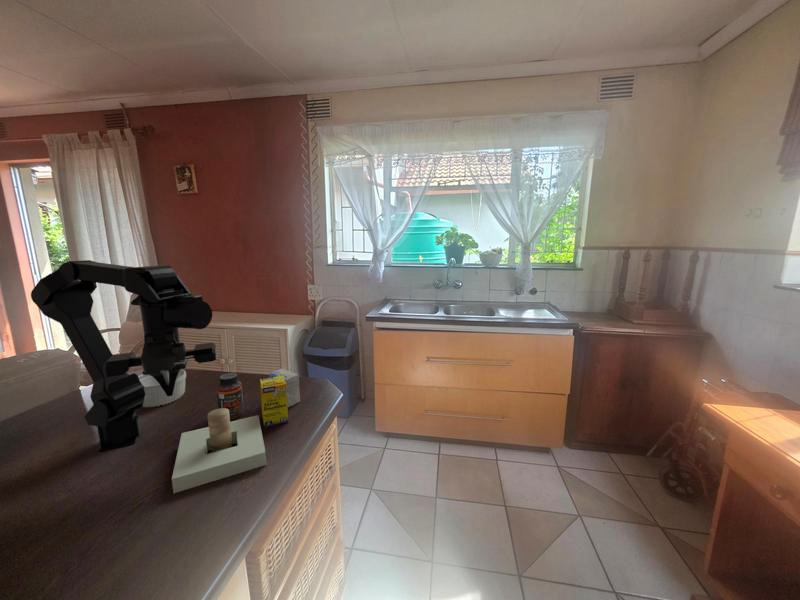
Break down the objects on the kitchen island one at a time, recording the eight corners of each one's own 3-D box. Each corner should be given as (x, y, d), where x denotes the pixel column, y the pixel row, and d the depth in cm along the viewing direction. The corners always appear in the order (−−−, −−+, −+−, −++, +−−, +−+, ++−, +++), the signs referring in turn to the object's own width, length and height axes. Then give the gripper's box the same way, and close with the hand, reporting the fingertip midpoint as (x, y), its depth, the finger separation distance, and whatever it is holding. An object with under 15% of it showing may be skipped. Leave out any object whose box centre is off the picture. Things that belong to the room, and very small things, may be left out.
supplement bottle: (225, 424, 80) (221, 382, 78) (214, 416, 84) (210, 376, 82) (248, 414, 85) (244, 375, 83) (237, 407, 88) (234, 369, 86)
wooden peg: (211, 463, 66) (206, 420, 64) (212, 452, 69) (207, 410, 68) (233, 457, 68) (229, 415, 66) (233, 446, 71) (229, 406, 70)
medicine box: (300, 401, 92) (299, 374, 90) (288, 408, 88) (286, 379, 86) (283, 394, 96) (281, 368, 94) (270, 400, 92) (268, 373, 91)
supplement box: (264, 428, 78) (260, 388, 76) (262, 417, 83) (259, 378, 81) (288, 422, 81) (286, 383, 79) (285, 411, 86) (283, 374, 84)
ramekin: (178, 384, 102) (175, 364, 101) (196, 396, 94) (193, 374, 93) (126, 401, 91) (122, 378, 90) (141, 415, 84) (137, 391, 83)
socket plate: (173, 493, 58) (171, 479, 58) (183, 445, 72) (181, 433, 71) (266, 464, 66) (265, 452, 65) (259, 425, 79) (258, 415, 79)
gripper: (85, 343, 54) (100, 426, 57) (211, 329, 63) (219, 401, 66) (106, 328, 63) (118, 399, 66) (213, 318, 72) (219, 381, 75)
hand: (170, 395), depth 68 cm, fingers closed
